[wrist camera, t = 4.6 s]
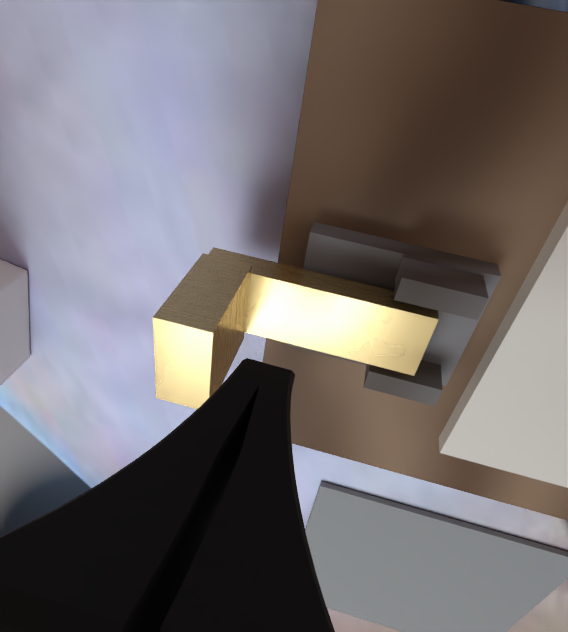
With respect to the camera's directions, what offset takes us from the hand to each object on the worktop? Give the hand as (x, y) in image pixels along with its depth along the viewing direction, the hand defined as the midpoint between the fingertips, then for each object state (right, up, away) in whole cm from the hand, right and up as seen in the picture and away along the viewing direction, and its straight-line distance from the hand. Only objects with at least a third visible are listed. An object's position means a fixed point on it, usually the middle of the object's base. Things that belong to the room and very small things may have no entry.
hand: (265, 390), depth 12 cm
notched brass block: (+2, +2, +3) cm, 5 cm away
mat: (+8, -14, +16) cm, 23 cm away
